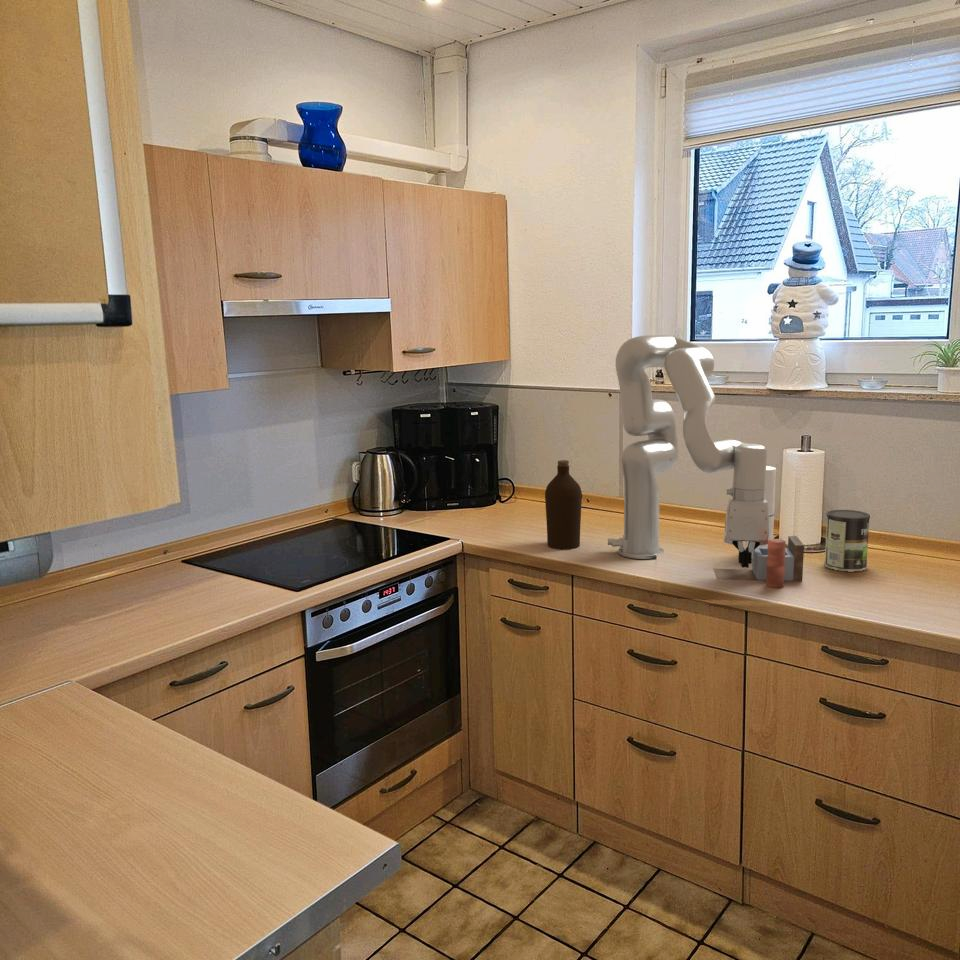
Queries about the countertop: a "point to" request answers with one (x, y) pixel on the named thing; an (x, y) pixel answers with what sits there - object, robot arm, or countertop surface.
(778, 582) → the dowel
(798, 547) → the rail
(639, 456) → the robot arm
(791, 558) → the socket block
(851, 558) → the coffee can
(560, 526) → the olive oil
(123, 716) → the countertop surface
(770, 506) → the cylindrical container
